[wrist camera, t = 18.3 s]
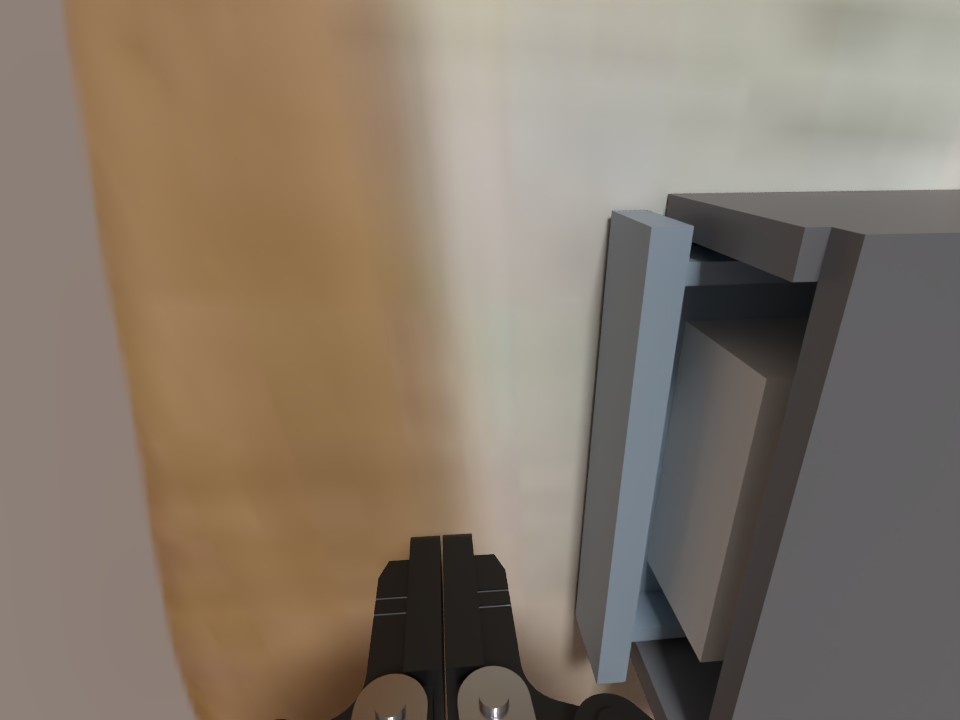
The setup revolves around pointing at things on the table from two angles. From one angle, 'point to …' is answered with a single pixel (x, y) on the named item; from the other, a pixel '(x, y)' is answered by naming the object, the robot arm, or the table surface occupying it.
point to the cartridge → (719, 467)
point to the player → (844, 471)
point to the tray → (649, 414)
